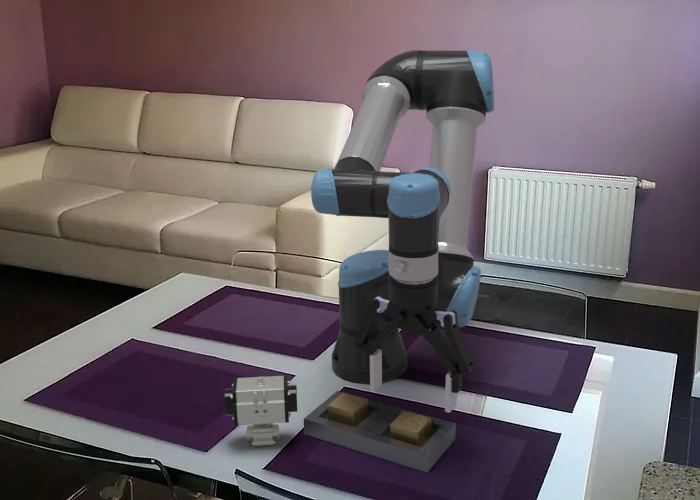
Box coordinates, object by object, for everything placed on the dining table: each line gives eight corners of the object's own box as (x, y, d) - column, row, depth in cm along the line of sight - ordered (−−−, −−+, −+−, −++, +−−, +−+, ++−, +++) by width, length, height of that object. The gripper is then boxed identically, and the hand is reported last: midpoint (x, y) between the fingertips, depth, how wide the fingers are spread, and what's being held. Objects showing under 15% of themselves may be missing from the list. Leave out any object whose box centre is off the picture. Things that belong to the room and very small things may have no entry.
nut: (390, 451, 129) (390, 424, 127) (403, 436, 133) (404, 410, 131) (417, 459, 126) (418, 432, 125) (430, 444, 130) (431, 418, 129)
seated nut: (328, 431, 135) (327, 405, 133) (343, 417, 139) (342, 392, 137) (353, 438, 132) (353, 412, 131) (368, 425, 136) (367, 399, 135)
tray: (304, 434, 134) (303, 418, 133) (337, 405, 143) (337, 390, 142) (427, 472, 123) (427, 456, 122) (455, 439, 132) (455, 423, 131)
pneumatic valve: (229, 436, 134) (224, 372, 130) (298, 432, 134) (295, 368, 131) (227, 454, 128) (222, 388, 125) (298, 450, 129) (296, 384, 125)
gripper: (331, 270, 123) (335, 389, 131) (480, 299, 111) (475, 429, 119) (355, 255, 129) (357, 370, 137) (499, 281, 117) (493, 406, 125)
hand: (412, 398), depth 128 cm, fingers open, 13 cm apart
